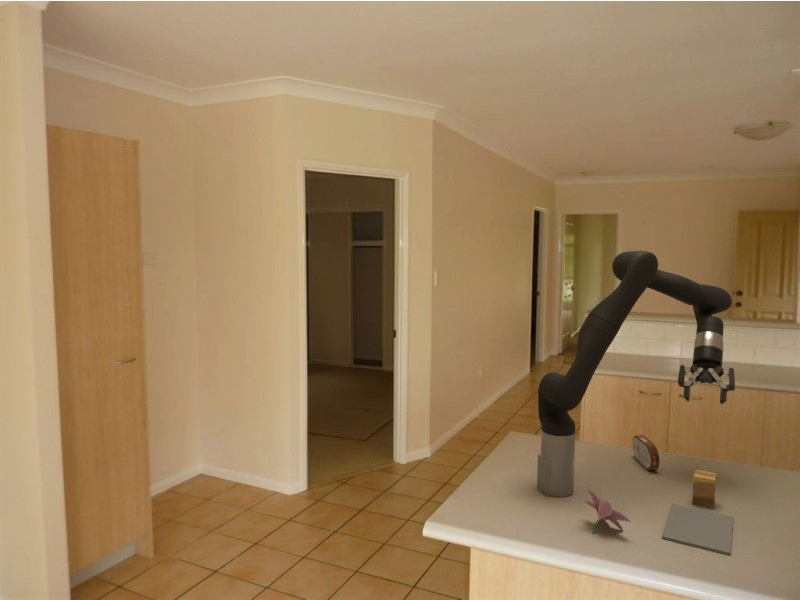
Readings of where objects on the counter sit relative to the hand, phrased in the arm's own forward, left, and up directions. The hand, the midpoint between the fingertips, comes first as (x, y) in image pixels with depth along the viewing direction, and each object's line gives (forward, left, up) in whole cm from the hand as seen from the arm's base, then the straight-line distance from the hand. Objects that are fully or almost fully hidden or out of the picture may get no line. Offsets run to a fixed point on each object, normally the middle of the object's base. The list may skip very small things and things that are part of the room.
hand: (704, 401), depth 159 cm
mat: (-16, -20, -25) cm, 36 cm away
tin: (-4, +19, -26) cm, 32 cm away
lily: (-39, -16, -26) cm, 50 cm away
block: (-6, -8, -25) cm, 27 cm away
